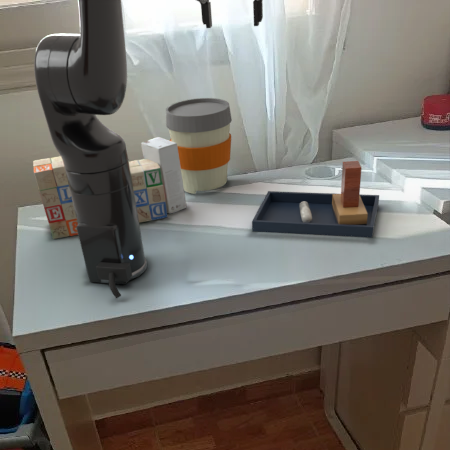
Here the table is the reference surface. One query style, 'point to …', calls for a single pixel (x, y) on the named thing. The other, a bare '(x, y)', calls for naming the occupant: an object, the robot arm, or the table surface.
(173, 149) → the cosmetic box
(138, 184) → the stack of blocks
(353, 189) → the wooden block on base
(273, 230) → the tray
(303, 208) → the chalk
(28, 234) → the table surface
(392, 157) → the table surface
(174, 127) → the reusable coffee cup
